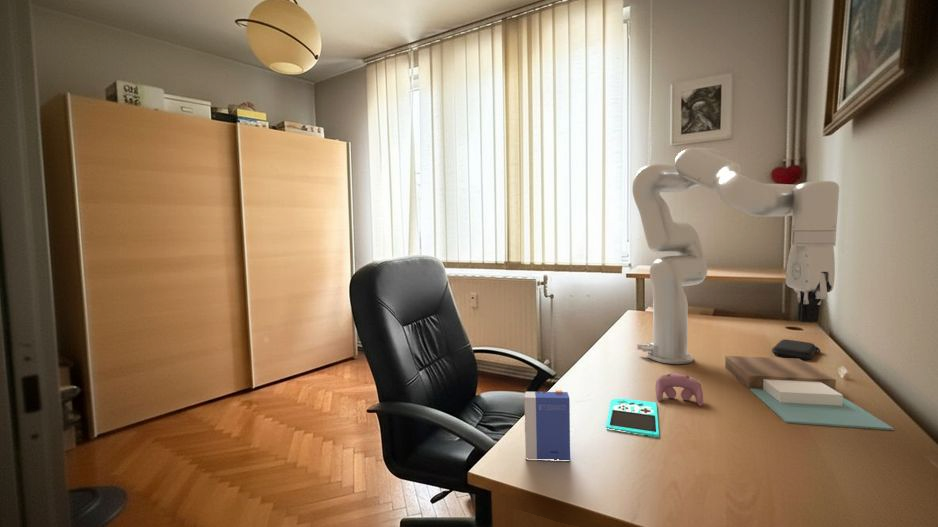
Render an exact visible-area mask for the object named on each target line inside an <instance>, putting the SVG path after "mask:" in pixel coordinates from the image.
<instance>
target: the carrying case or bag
mask: <svg viewBox="0 0 938 527" xmlns="http://www.w3.org/2000/svg"><path fill="white" fill-rule="evenodd" d="M771 352H772V353H773V355H774V354H775V355H774V356H776V355H778V356H777V357H781V356H782V357H781V358H787V357H788V358H795V359H800V360H802V361H808V360H809V359H812V358H813V357H814V355H815V354H816V352H818V353H820V352H821V349H820V348H819V347H818V346H816V345H815V344H814V343H812V342H806V341H800V340H793V339H787V338H786V339H784V338H783V339H781V340H780V341H779V342H778V343H776V345H775V346H774V347H772V349H771Z"/></svg>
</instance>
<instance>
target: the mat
mask: <svg viewBox="0 0 938 527" xmlns="http://www.w3.org/2000/svg"><path fill="white" fill-rule="evenodd" d="M749 390H750V391H751V393H752V394H753V395H754V396H756V397H757V398H758V399H759V400H760V401H761V402H763V404H765V405H766V406H767V407H768V408H770V410H771V411H773V412H774V413H775V414H776V415H777V416H778V417H780V419H781V420H782V421H784V422H785V423H787V424H798V425H799V424H800V425H814V426H815V425H816V426H826V427H827V426H828V427H829V426H830V427H840V428H841V427H842V428H857V429H858V428H859V429H869V428H870V430H872V429H873V430H883V431H885V430H886V431H894V430H895V429H894V427H892V426H890V425H889V424H888V423H886V422H885V421H882V420H881V419H879V418H877V417H876V415H875V416H874V415H873V414H872V413H870V412H868V411H866V410H865V409H863V408H862V407H860V406H859V405H857V404H855V403H853V402H852V401H850V400H849V399H847V398H845V397H844V396H843V404H842V406H840V405H821V404H803V403H785V402H779V401H778V400H777V399H775V398H774V397H773V396H771V395H770V394H769V393H768V392H766V391H765V390H764V389H752V388H750V389H749Z"/></svg>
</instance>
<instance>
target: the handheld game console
mask: <svg viewBox="0 0 938 527" xmlns="http://www.w3.org/2000/svg"><path fill="white" fill-rule="evenodd" d="M657 406H658V405H657V402H654V401H647V400H639V399H637V400H636V399H630V398H613V399H611V400H610V403H609V409H608V415H607V419H606V425H605V429H606V428H609V429H615V430H621V431H626V432H630V433H637V434H643V435H646V436H647V437H648V436H654V437H653V438H655V437H659V438H660V430H659V428H660V427H659V416H658V407H657Z"/></svg>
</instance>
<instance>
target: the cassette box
mask: <svg viewBox="0 0 938 527" xmlns="http://www.w3.org/2000/svg"><path fill="white" fill-rule="evenodd" d="M763 389H764V390H765V391H766V392H768V393H769V394H770V395H771V396H773V397H774V398H775V399H777V400H778V401H779V402H785V403H803V404H821V405H840V406H842V404H843V397H844V395H843V394H842V393H841V392H839V391H838V390H836V389H835V390H834V389H832V388H830V387H828V386H827V385H825V384H823V383H822V382H815V381H792V380H769V379H763Z"/></svg>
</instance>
